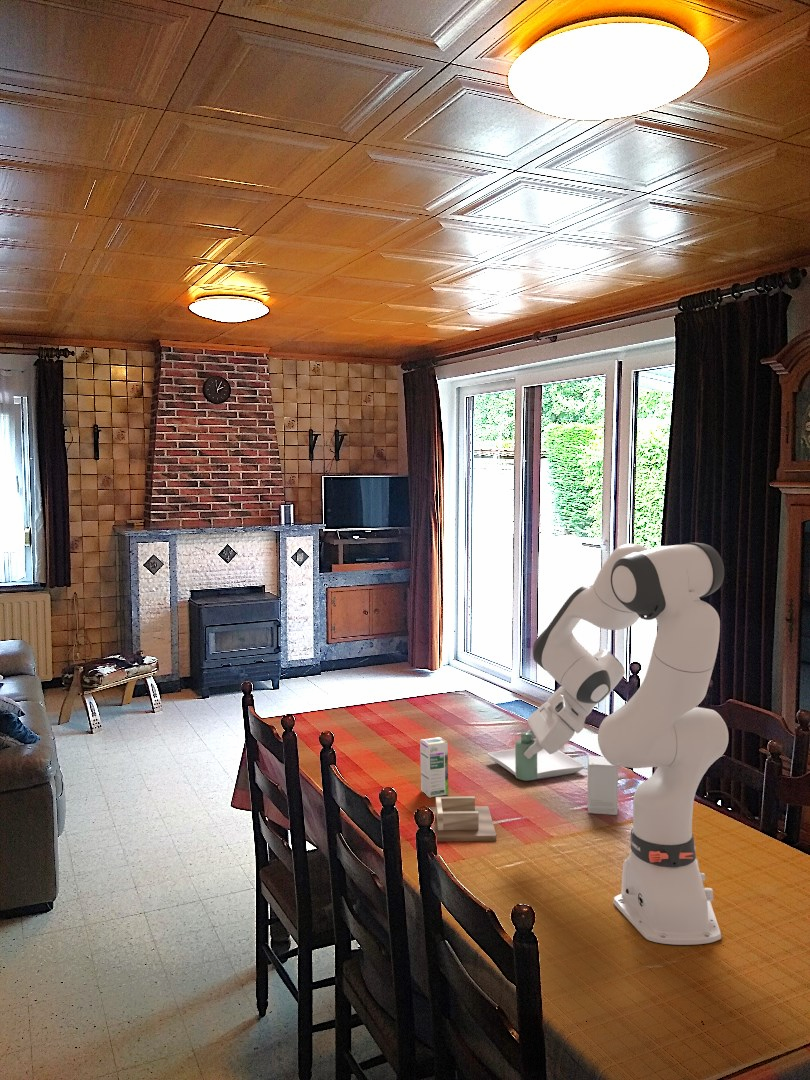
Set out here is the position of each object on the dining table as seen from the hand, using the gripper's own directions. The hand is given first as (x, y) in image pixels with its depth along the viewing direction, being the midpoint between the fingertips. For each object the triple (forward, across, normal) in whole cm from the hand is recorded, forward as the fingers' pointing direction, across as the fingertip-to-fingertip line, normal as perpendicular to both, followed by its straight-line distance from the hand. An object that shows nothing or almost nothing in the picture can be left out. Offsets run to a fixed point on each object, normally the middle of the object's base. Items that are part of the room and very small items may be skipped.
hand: (523, 751), depth 199 cm
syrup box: (+29, -32, +2) cm, 43 cm away
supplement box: (-1, -19, +31) cm, 37 cm away
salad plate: (+8, -50, +23) cm, 56 cm away
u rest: (+25, -10, +5) cm, 28 cm away
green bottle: (+4, 0, +5) cm, 6 cm away
